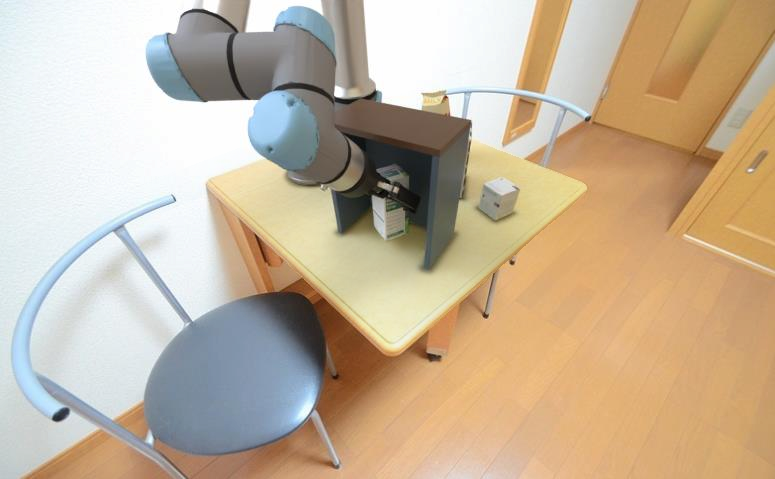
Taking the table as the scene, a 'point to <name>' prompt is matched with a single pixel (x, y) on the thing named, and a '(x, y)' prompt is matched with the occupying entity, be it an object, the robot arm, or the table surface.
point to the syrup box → (391, 206)
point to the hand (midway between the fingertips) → (398, 201)
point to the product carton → (498, 198)
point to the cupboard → (409, 163)
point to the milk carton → (436, 103)
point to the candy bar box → (466, 162)
